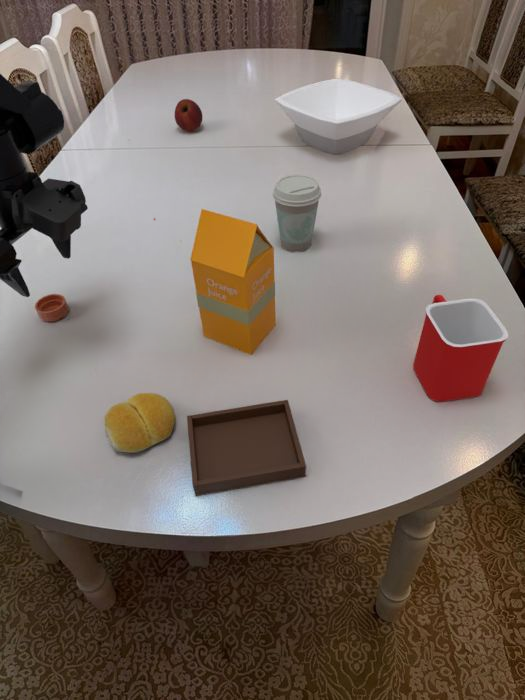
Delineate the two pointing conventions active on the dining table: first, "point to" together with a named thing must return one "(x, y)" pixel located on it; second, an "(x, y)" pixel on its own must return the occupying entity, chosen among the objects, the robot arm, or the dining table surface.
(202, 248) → the orange juice
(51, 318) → the side dish
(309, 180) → the coffee cup
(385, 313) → the dining table surface
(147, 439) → the bread roll
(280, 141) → the dining table surface
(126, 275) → the dining table surface
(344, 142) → the bowl
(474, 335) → the mug
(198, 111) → the apple
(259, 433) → the serving tray
